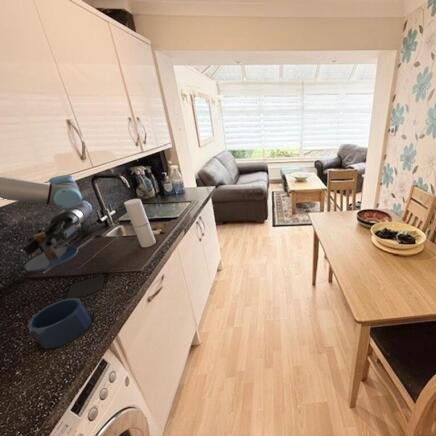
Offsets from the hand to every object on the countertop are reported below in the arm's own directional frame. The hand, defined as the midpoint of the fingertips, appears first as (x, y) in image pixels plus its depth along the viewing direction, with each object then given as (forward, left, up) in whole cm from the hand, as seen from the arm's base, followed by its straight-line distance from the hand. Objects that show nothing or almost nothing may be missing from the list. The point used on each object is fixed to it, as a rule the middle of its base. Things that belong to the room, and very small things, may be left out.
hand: (34, 249), depth 74 cm
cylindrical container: (+26, +39, -27) cm, 54 cm away
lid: (+1, +5, -7) cm, 9 cm away
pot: (0, -9, -27) cm, 29 cm away
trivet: (+2, +15, -27) cm, 31 cm away
